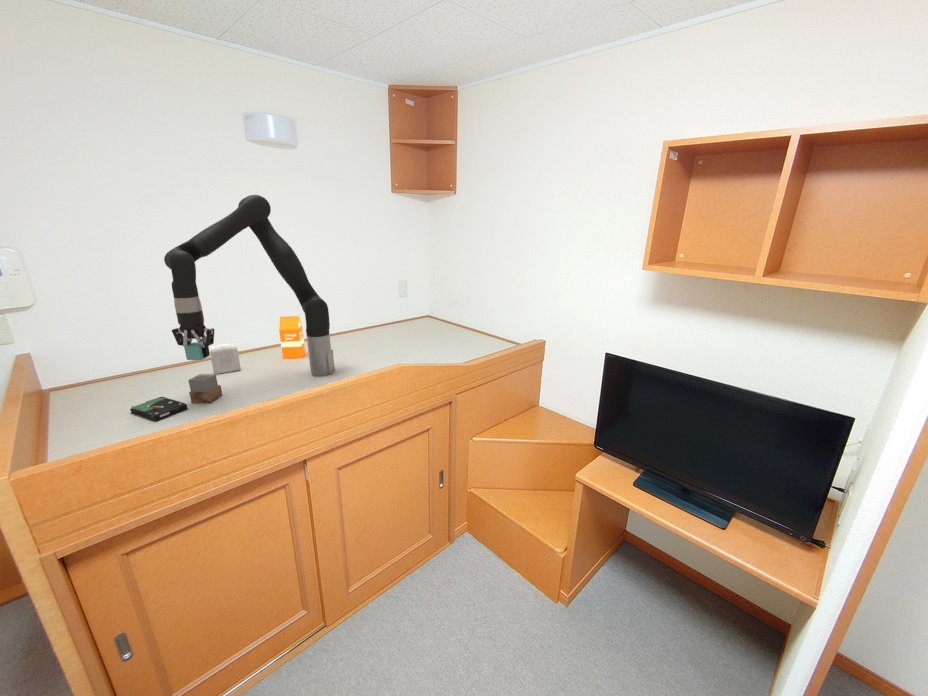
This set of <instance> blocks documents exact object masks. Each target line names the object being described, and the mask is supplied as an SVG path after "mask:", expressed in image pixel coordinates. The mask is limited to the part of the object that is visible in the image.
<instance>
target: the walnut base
mask: <svg viewBox="0 0 928 696" xmlns="http://www.w3.org/2000/svg"><path fill="white" fill-rule="evenodd" d="M188 394H189V397H190V402H191V404H212V403H214V402H215V401H216V400H218V399H219V398H221V397H223V395H224V394H223V390H222V385H221V384H218V386H216V387H215V388H213V389H211V390H210V391H208V392H191V390H190V391H189V392H188Z"/></svg>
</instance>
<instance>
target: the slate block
mask: <svg viewBox="0 0 928 696" xmlns="http://www.w3.org/2000/svg"><path fill="white" fill-rule="evenodd" d="M188 385H189V390H190V391H191V392H208V391H210V390H211V389H213V388H215V387H216V386H218V385H219V384H218V380H217V374H214V373H199V374H197V375H195V376H193V377H191V378H190V379H188Z"/></svg>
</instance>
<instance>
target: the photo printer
mask: <svg viewBox="0 0 928 696" xmlns="http://www.w3.org/2000/svg"><path fill="white" fill-rule="evenodd" d="M209 352H210V357H211V358H210V359H211V365H212V371H213V374H216V375H219V374H223V373H230V372H237V371H241V362H240V359H239V358H240V357H239V350H238V348H237V345H236V344H234V343H222V344H218V345H217V344H216V345H214V346H212V347H210V349H209Z"/></svg>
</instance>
